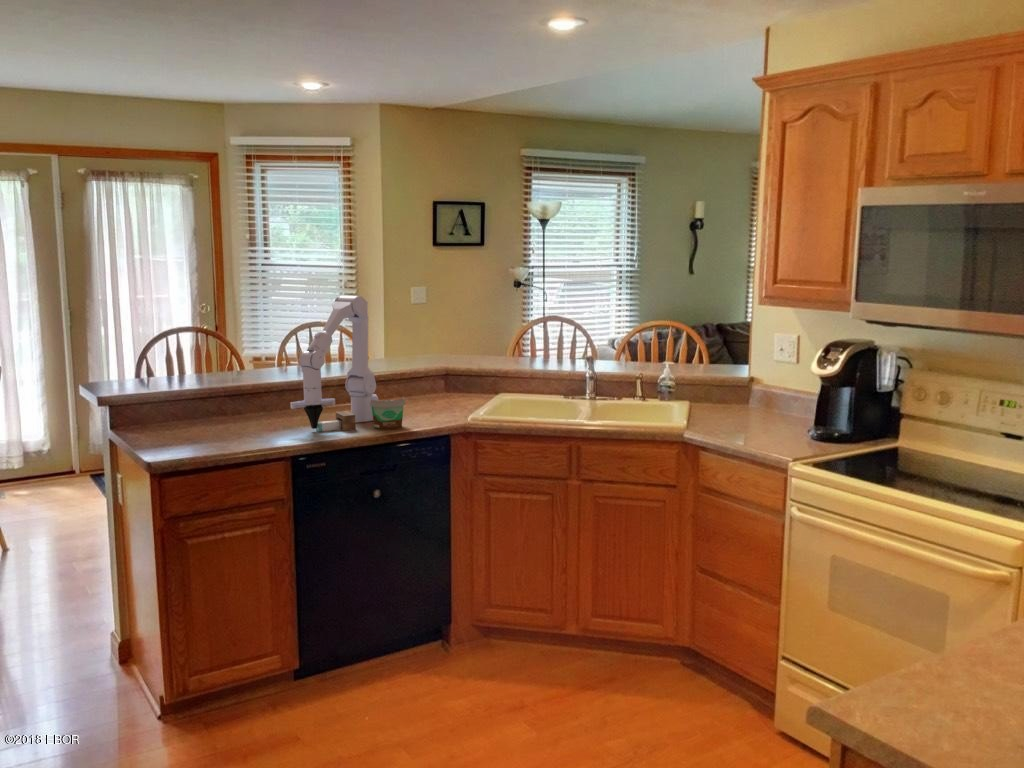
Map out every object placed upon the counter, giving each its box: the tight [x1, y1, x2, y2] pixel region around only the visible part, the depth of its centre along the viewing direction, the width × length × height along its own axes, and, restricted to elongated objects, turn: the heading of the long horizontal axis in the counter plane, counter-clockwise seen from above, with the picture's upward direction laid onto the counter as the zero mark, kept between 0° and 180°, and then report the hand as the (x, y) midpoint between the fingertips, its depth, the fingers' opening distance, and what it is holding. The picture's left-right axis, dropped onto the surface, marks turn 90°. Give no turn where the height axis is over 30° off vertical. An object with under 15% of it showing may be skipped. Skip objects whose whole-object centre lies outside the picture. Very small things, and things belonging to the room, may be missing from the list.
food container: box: [370, 396, 407, 431], centre depth 290 cm, size 12×6×10 cm, turn 117°
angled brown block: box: [335, 410, 356, 432], centre depth 291 cm, size 4×8×5 cm, turn 31°
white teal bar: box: [315, 419, 343, 433], centre depth 289 cm, size 10×3×3 cm, turn 120°
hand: (314, 428), depth 286 cm, fingers closed
